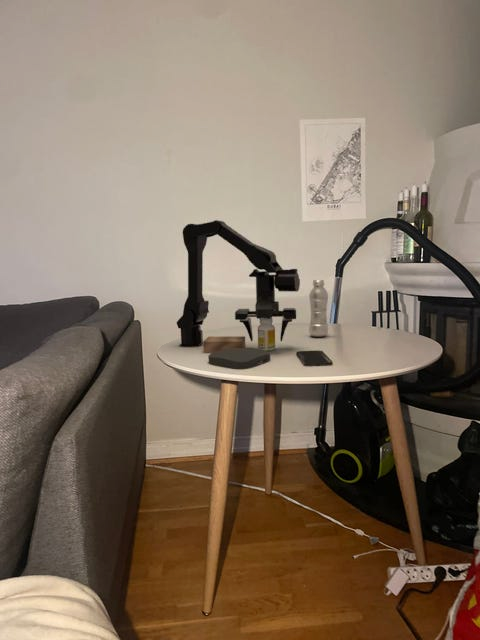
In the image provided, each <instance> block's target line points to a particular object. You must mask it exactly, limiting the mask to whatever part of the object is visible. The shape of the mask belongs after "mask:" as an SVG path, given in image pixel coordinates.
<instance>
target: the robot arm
mask: <svg viewBox="0 0 480 640" xmlns="http://www.w3.org/2000/svg"><path fill="white" fill-rule="evenodd" d="M217 235H218V237H220V238H221V239H223V240H224V241H226V242H227V243H229V244H230V245H231V246H232V247H234V248H235V249H236V250H238V251H240V252H241V253H242V254H243V255H244V256H245V257H246V258H247V259H248V261H249V262H250V263H251V264H252V265H253V266H254V267H255V268H254V269H253V270H252V271H251V272H250V274H249V275H248V276H249V278H255V294H256V295H255V296H256V298H255V299H256V300H255V301H256V302H255V305H254V307H255V310H250V308H238V309H237V310H236V311H235V312H234V320H235V321H236V320H237V321H239V323H243V325H244V327H245V330H246V331H247V334H248V337H249V339H250V342H253V339H254V336H253V327H252V318H256V319H259V320H260V319H261V318H268V319H269V318H272V319H273V318H274V317H277V318H278V317H280V318H281V317H282V321H281V329H280V342H282V341H283V338H284V336H285V332H286V329H287V327H288V325H289V323H292V322H293V320H297V309H296V308H295V307H284V308H283V310H280V305H279V303H280V302H279V301H276V298H275V297H276V295H275V292H276V290H278V292H281V293H282V292H287V293H289V292H291V293H292V292H293V293H295V292H299V290H300V285H301V279H300V277H299V273H298V269H297V268H291V269H283V267H282V266H281V265H280V264H279V262H278V260H277V255H276V254H275V252H274V251H272V250H270V249H267V248H265V247H263V246H260V245H258V244H256V243H254V242H252V241H251V240H249V238H246V237H245V236H243V235H242V234H241V233H239V232H238V231H236V230H235V229H233V228H232V227H231V226H229V225H228V224H227V223H226V222H225V221H223V220H217V219H216V220H213V221H209V222H204V223H199V224H197V223H188V224H186V225H185V226H184V227H183V229H182V238H183V239H182V240H183V245H184V246H185V249H186V251H187V297H186V300H185V303H184V305H183V310H182V315H181V317H180V318H179V319H178V320H177V321H176V325H177V328H178V329H180V342H181V343H180V344H179V346H180V347H199V346H200V345H202V344H203V341H204V339H203V338H204V337H203V330H202V327H201V326H202V325H203V323H204V320H205V319H206V318H207V316H208V314H209V313H210V311H209V300H205V298H204V296H203V278H204V277H203V272H204V271H203V267H204V266H203V264H204V263H203V261H204V260H203V257H204V255H203V252H204V250H205V248H206V245H207V243H208V238H210V237H215V236H217ZM261 270H262V271H261Z"/></svg>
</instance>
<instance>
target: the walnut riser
mask: <svg viewBox="0 0 480 640" xmlns="http://www.w3.org/2000/svg"><path fill="white" fill-rule="evenodd" d="M202 344H203V353H204V354H211V353H213V352H216V351H219V350H222V349H229V348H247V347H246V345H247V344H246V336H245V335H244V336H241V335H239V336H238V335H237V336H229V335H228V336H207V337H206V338H205V339H203V342H202Z"/></svg>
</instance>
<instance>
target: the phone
mask: <svg viewBox="0 0 480 640" xmlns="http://www.w3.org/2000/svg"><path fill="white" fill-rule="evenodd" d="M295 353H296V356H297V358H298V360H299V362H301V364H302V366H303V367H328V366H329V367H330V366H333V365H334V364H333V360H332V359H330V357H329V356H328V355H327V354H326V353H325V352H324V351H323V350H298V351H296V352H295Z"/></svg>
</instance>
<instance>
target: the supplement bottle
mask: <svg viewBox="0 0 480 640" xmlns="http://www.w3.org/2000/svg"><path fill="white" fill-rule="evenodd" d="M257 349H262V350H265V351H268V352H269V351H274V350H275V349H276V327H275V325H273V317H272V318H269V319H268V318H261V319H259V325H258V326H257Z"/></svg>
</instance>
